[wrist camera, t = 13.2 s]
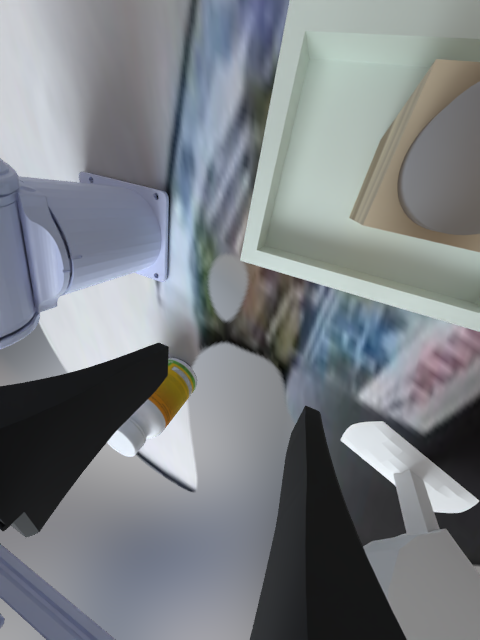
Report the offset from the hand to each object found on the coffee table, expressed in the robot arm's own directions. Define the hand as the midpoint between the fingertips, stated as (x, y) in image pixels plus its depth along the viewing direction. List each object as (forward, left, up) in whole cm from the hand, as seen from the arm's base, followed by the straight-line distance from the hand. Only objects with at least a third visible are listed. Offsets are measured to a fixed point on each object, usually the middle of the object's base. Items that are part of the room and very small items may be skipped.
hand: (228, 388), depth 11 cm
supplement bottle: (-9, -13, -11) cm, 19 cm away
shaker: (+5, +10, -10) cm, 15 cm away
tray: (+5, +10, -10) cm, 15 cm away
